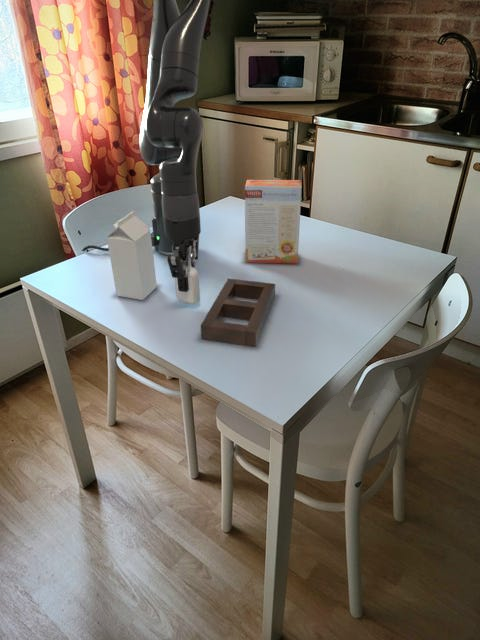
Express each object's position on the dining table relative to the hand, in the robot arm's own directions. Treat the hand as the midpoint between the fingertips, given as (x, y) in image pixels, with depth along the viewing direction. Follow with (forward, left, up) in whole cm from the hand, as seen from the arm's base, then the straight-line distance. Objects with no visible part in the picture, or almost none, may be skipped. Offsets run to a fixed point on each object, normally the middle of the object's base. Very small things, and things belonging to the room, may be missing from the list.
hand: (187, 285), depth 108 cm
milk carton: (-14, +3, -5) cm, 15 cm away
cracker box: (+14, +28, -5) cm, 32 cm away
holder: (+13, -2, -5) cm, 14 cm away
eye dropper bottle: (0, 0, -4) cm, 4 cm away
